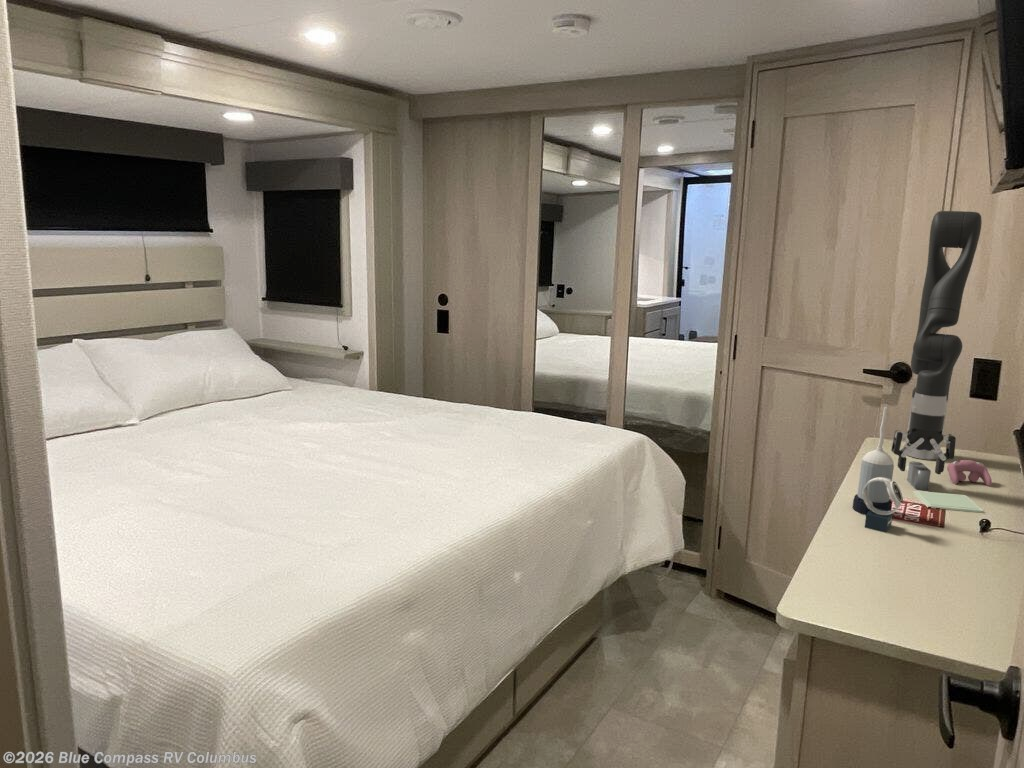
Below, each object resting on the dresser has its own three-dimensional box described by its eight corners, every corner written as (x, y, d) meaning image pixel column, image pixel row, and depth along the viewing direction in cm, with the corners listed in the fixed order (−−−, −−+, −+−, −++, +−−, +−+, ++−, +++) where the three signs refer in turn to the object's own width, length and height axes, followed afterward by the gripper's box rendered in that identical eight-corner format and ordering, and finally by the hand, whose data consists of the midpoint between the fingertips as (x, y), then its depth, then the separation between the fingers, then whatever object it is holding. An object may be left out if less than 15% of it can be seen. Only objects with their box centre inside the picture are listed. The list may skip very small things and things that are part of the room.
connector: (902, 476, 200) (905, 458, 199) (915, 477, 199) (918, 459, 198) (916, 490, 189) (918, 471, 188) (929, 491, 188) (932, 472, 187)
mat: (913, 492, 187) (913, 490, 187) (965, 497, 184) (965, 494, 184) (927, 507, 176) (928, 505, 176) (983, 512, 174) (983, 510, 174)
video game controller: (984, 488, 197) (982, 462, 198) (994, 485, 192) (991, 459, 194) (945, 486, 198) (943, 460, 199) (954, 483, 193) (952, 457, 195)
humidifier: (875, 519, 168) (889, 412, 163) (844, 507, 175) (857, 404, 170) (898, 514, 172) (913, 409, 166) (867, 502, 179) (880, 402, 174)
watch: (895, 534, 159) (902, 486, 157) (856, 525, 164) (862, 478, 162) (901, 527, 164) (907, 480, 161) (862, 518, 168) (868, 472, 166)
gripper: (953, 410, 191) (944, 470, 194) (894, 406, 194) (886, 465, 197) (964, 416, 184) (955, 479, 187) (902, 412, 187) (894, 473, 190)
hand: (919, 472), depth 192 cm, fingers open, 8 cm apart
